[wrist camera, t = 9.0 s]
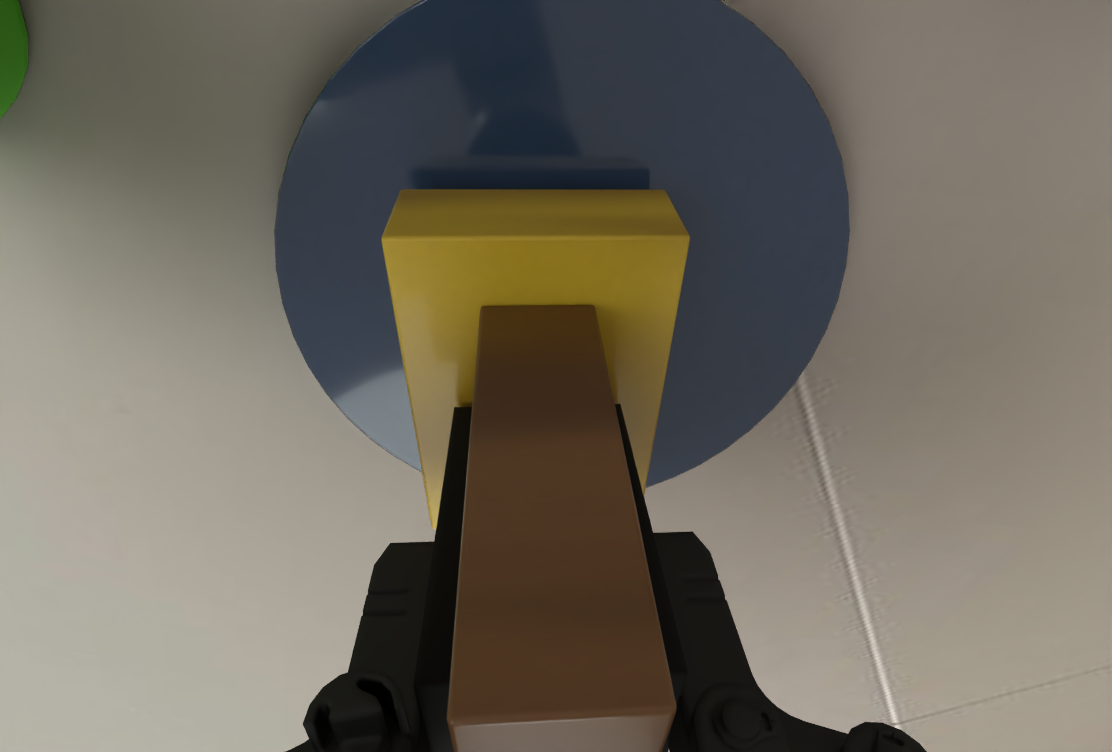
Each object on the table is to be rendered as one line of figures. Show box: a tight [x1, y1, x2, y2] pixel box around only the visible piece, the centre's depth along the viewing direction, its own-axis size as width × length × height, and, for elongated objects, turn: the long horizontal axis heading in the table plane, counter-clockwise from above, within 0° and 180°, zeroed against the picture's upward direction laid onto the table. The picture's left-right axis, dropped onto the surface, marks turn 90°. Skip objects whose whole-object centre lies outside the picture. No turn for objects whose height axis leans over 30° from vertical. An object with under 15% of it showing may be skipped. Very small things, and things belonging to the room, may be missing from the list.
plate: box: [274, 0, 850, 488], centre depth 16 cm, size 15×15×1 cm
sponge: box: [381, 189, 690, 752], centre depth 12 cm, size 9×6×10 cm, turn 179°
